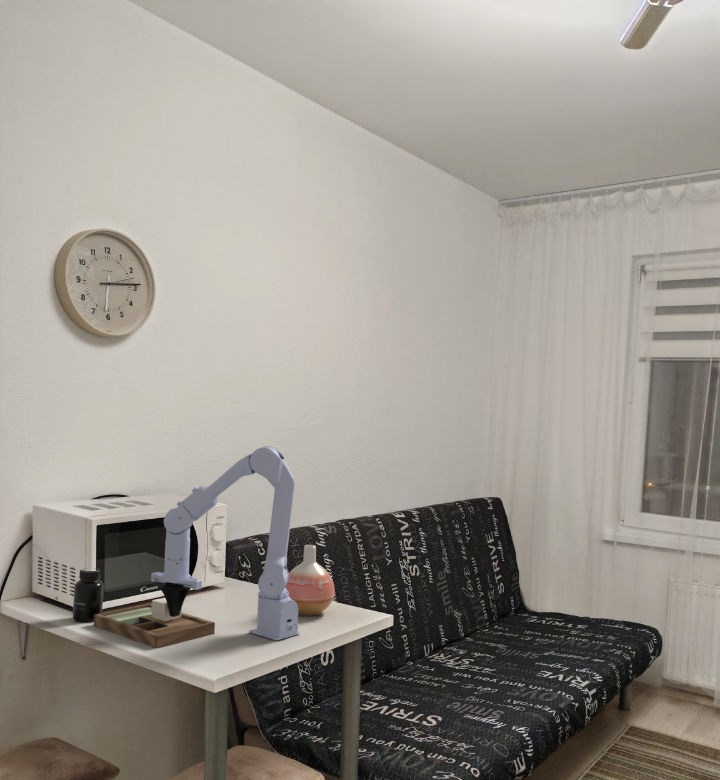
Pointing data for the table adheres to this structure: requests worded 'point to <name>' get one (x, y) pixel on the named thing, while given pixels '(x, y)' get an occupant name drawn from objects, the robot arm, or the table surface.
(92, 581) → the supplement bottle
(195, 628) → the tray
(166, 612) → the cream block
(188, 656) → the table surface
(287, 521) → the robot arm
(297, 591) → the vase
